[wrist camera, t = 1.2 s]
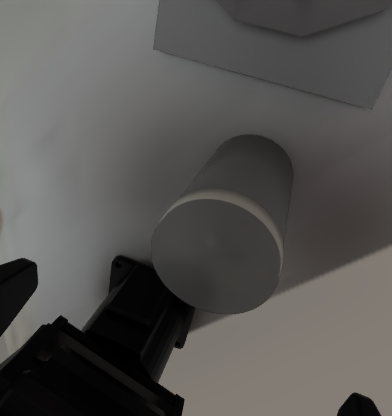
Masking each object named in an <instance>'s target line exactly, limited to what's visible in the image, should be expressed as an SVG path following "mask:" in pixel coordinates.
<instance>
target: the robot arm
mask: <svg viewBox="0 0 392 416" xmlns="http://www.w3.org/2000/svg"><path fill="white" fill-rule="evenodd" d="M118 262H119V263H120V264H119V263H118ZM37 285H38V274H37V265H36V263H35V262H33V261H30V260H28V259H25V258H20V259H17V260H14V261H11V262H8V263H5V264H2V265H0V337H1V335H2V334H3V333H4V332H5V330H6V329H7V328H8V326H9V325H10V324H11V322H12V321H13V320H14V318H15V317H16V316H17V314H18V313H19V312H20V310H21V309H22V308H23V306H24V305H25V304H26V302H27V301H28V300H29V298H30V297H31V296H32V294H33V293H34V291H35V290H36V288H37ZM194 311H195V307H193V306H191V305H189V304H188V303H186V302H184V301H183V300H181V299H180V298H178V297H177V296H176V295H175V294H173V293H172V292H171V291H170V290H169V289H168V288H167V287H166V286H165V284H164V283H163V282H162V281H161V279H160V277H159V276H158V274H157V272H156V270H155V269H153V268H150V267H148V266H145V265H142V264H140V263H137V262H135V261H132V260H129V259H127V258H124V257H122V256H117V257H115V258H114V260H113V261H112V266H111V276H110V287H109V295H108V296H107V297H106V299H105V300H104V301H103V303H102V304H101V305H100V306H99V308H98V309H97V310H96V312H95V313H94V314H93V316H92V317H91V318H90V320H89V321H88V322H87V323H86V325H85V326H84V327H83V329H82V330H81V331H80V330H79V329H77V328H76V327H74V326H73V325H72V324H70V323H69V322H68V320H67V319H66V318H64V317H63V316H61V315H60V316H59V317H58V318H57V319H56V320H55V321H54V322H53V323H52V324H49V323H48V324H47V325H42V326H41V327H40V328H39V329H38V330H37V331H36V332H35V333H34V334H33V335H32V337H31V338H30V339H29V340H28V341H27V342H26V343H25V344H24V345H23V346H22V347H21V348H20V349H19V350H17V351H16V352H15V353H14V354H12V355H11V356H10V357H8V358H7V359H6V360H5V361H3V362H2V363H1V364H0V416H181V415H182V411H183V405H184V399H183V398H182V397H180V396H179V395H178V394H176V395H174V394H173V393H171V392H170V391H169V390H167V389H166V388H164V387H163V386H161V385H160V384H158V382H159V379H160V377H161V374H162V373H163V370H164V368H165V365H166V363H167V361H168V359H169V356H170V354H171V352H172V350H173V347H175V348H178V349H181V348H183V346H184V344H185V341H186V337H187V334H188V331H189V327H190V324H191V321H192V317H193V314H194ZM337 416H381V415H380V413H379V411H378V409H377V407H376V406H375V404H374V402H373V401H372V400H371V399H370V398H368V397H366V396H363V395H361V394H359V393H352V394H351V395H350V396H349V397H348V399H347V400H346V401H345V402H344V404H343V405H342V406H341V407H340V409H339V411H338V413H337Z"/></svg>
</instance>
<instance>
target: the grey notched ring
mask: <svg viewBox="0 0 392 416" xmlns="http://www.w3.org/2000/svg"><path fill="white" fill-rule="evenodd" d="M153 49H154V50H158V51H162V52H165V53H169V54H173V55H176V56H180V57H183V58H187V59H191V60H194V61H198V62H202V63H205V64H209V65H212V66H216V67H220V68H223V69H227V70H230V71H234V72H238V73H241V74H245V75H249V76H252V77H256V78H259V79H263V80H267V81H270V82H274V83H278V84H281V85H285V86H288V87H292V88H296V89H299V90H303V91H307V92H310V93H314V94H317V95H321V96H325V97H328V98H332V99H336V100H339V101H343V102H346V103H350V104H354V105H357V106H361V107H364V108H368V109H372V108H373V106H374V104H375V102H376V100H377V98H378V96H379V93H380V91H381V89H382V87H383V85H384V83H385V81H386V79H387V77H388V75H389V73H390V71H391V69H392V0H159V7H158V15H157V23H156V31H155V39H154V47H153Z"/></svg>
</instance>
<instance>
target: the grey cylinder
mask: <svg viewBox="0 0 392 416" xmlns="http://www.w3.org/2000/svg"><path fill="white" fill-rule="evenodd" d="M292 182H293V169H292V165H291V162H290V159H289V157H288V156H287V154H286V153H285V151H284V150H283V149H282V148H281V147H280V146H279V145H278V144H276V143H275V142H274V141H272V140H270V139H268V138H265V137H263V136H258V135H240V136H237V137H234V138H231V139H229V140H228V141H226V142H225V143H223V144H222V145H221V146H220V147H219V148H218V149H217V150H216V152H215V153H214V154H213V156H212V157H211V158H210V159H209V161H208V162H207V163H206V164H205V166H204V167H203V168H202V170H201V171H200V172H199V173H198V175H197V176H196V177H195V179H194V180H193V181H192V182H191V184H190V185H189V186H188V187H187V189H186V190H185V191H184V193H183V194H182V195H181V196H180V198H179V199H178V200H177V201H176V202H175V203H174V204H173V205H172V206H171V207H170V208H169V209H168V211H167V212H166V213H165V214H164V216H163V217H162V219H161V220H160V222H159V224H158V226H157V228H156V229H155V231H154V234H153V236H152V240H151V258H152V262H153V265H154V268H155V270H156V272H157V274H158V276H159V277H160V279H161V281H162V282H163V283H164V284H165V286H166V287H167V288H168V289H169V290H170V291H171V292H172V293H173V294H175V295H176V296H177V297H178V298H180V299H181V300H183V301H184V302H186V303H188V304H189V305H191V306H193V307H196V308H198V309H201V310H204V311H207V312H211V313H217V314H239V313H244V312H247V311H250V310H253V309H255V308H257V307H259V306H260V305H262V304H263V303H264V302H265V301H267V300H268V299H269V297H270V296H271V295H272V294H273V292H274V290H275V288H276V286H277V283H278V280H279V277H280V274H281V269H282V263H283V256H284V238H285V231H286V224H287V217H288V210H289V203H290V196H291V189H292Z"/></svg>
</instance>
